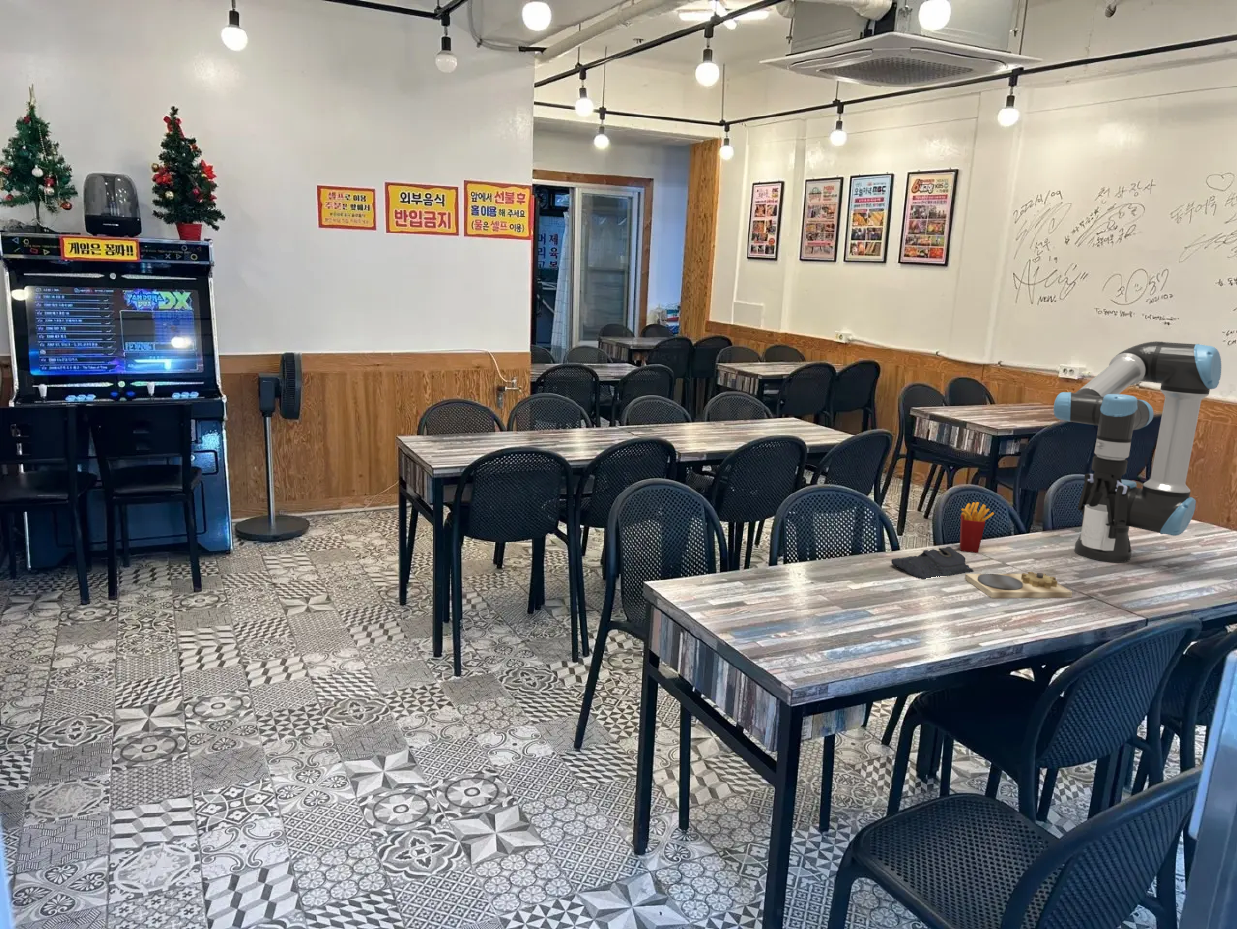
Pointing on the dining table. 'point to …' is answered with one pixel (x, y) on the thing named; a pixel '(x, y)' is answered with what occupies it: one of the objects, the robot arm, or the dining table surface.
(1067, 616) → the dining table surface
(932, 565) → the dark slate chunk
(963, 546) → the french fries
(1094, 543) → the white cup
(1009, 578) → the gear board
